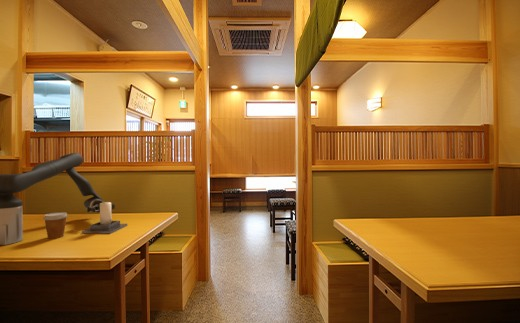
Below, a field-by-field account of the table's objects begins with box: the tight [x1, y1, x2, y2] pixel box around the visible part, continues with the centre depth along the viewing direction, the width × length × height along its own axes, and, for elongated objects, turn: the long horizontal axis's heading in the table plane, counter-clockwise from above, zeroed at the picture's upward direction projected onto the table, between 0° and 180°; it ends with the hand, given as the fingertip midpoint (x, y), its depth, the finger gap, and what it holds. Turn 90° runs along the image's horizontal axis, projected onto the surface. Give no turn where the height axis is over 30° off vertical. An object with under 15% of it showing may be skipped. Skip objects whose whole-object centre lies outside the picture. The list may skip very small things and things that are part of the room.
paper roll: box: [99, 201, 112, 225], centre depth 138 cm, size 6×6×14 cm
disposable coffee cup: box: [43, 211, 68, 240], centre depth 124 cm, size 10×10×12 cm
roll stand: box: [81, 220, 128, 235], centre depth 138 cm, size 16×16×4 cm
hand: (103, 209), depth 143 cm, fingers open, 8 cm apart
